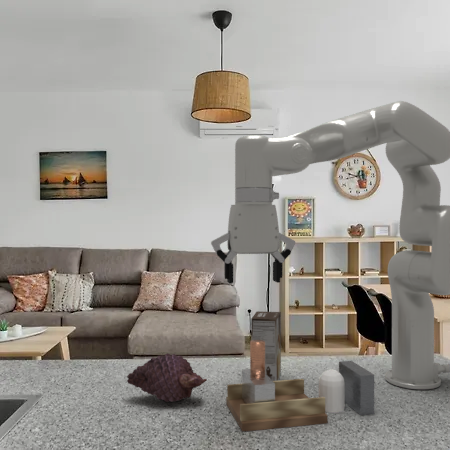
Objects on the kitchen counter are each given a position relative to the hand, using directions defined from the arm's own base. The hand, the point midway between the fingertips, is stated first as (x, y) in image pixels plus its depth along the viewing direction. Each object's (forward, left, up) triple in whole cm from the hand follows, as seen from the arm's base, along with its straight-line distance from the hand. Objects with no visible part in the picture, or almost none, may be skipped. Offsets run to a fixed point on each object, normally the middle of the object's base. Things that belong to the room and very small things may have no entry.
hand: (253, 282), depth 101 cm
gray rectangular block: (-22, +1, -27) cm, 35 cm away
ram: (-1, +1, -25) cm, 25 cm away
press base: (-4, +1, -27) cm, 27 cm away
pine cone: (+16, -11, -27) cm, 33 cm away
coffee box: (-9, -19, -27) cm, 34 cm away
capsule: (-17, +1, -27) cm, 32 cm away
